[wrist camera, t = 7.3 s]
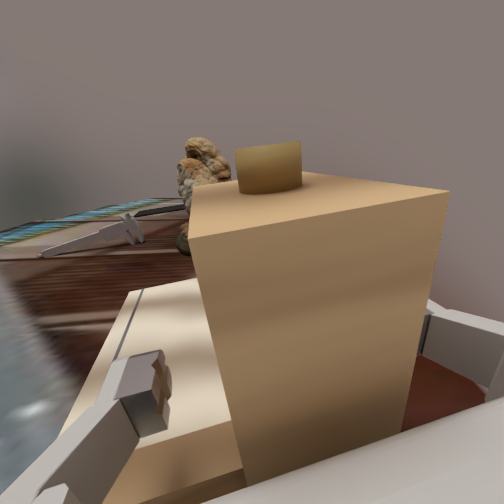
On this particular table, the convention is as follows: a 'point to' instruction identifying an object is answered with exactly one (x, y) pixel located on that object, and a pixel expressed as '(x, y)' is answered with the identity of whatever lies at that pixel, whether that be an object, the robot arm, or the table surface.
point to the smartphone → (160, 210)
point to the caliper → (101, 236)
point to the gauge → (297, 322)
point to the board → (166, 356)
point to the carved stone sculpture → (198, 177)
